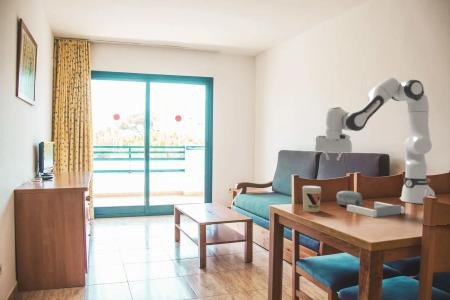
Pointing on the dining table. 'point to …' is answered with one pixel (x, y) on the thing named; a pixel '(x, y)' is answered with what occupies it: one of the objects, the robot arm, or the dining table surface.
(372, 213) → the notched board
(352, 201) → the grey-green rounded block
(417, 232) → the dining table surface
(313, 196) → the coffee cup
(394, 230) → the dining table surface
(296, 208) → the dining table surface
